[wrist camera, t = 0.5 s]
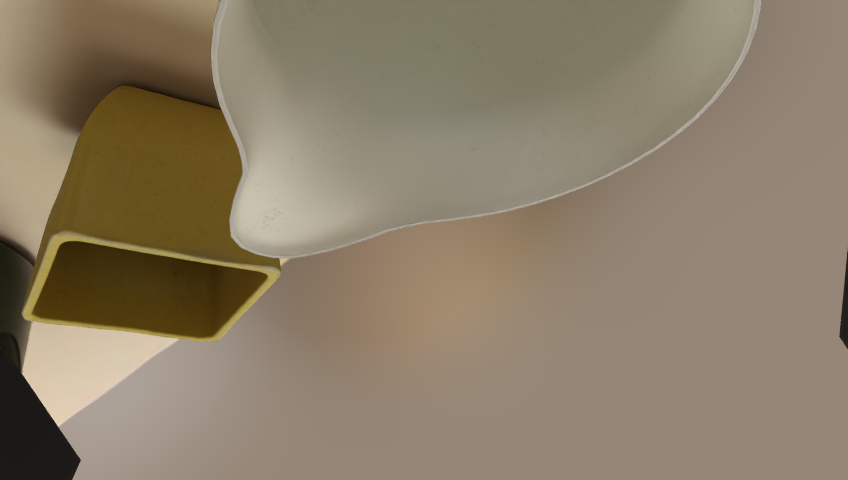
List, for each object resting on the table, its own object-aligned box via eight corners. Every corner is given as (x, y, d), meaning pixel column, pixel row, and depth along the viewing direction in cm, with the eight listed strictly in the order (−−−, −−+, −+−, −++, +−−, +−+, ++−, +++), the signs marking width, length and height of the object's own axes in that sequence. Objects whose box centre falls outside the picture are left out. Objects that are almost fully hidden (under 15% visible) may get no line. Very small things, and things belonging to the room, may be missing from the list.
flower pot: (288, 99, 36) (286, 275, 32) (225, 189, 43) (216, 346, 39) (85, 38, 32) (52, 233, 28) (49, 149, 38) (18, 321, 34)
